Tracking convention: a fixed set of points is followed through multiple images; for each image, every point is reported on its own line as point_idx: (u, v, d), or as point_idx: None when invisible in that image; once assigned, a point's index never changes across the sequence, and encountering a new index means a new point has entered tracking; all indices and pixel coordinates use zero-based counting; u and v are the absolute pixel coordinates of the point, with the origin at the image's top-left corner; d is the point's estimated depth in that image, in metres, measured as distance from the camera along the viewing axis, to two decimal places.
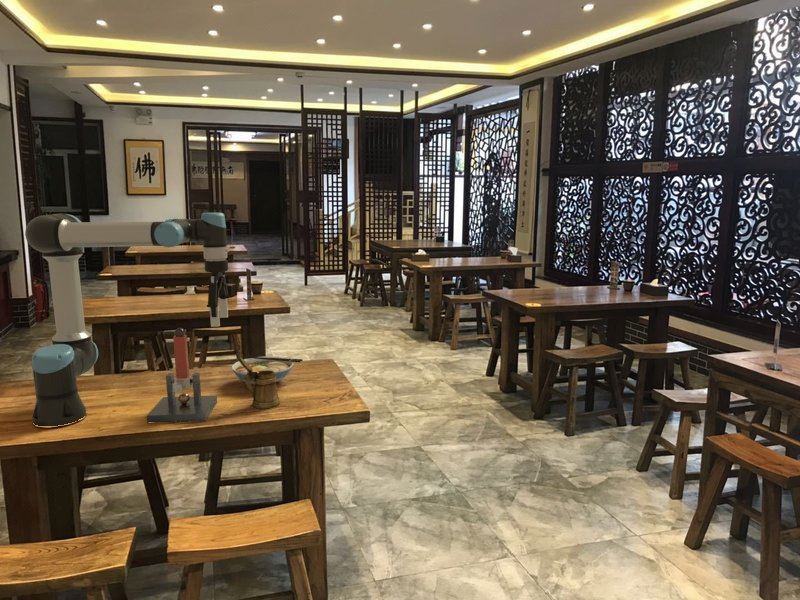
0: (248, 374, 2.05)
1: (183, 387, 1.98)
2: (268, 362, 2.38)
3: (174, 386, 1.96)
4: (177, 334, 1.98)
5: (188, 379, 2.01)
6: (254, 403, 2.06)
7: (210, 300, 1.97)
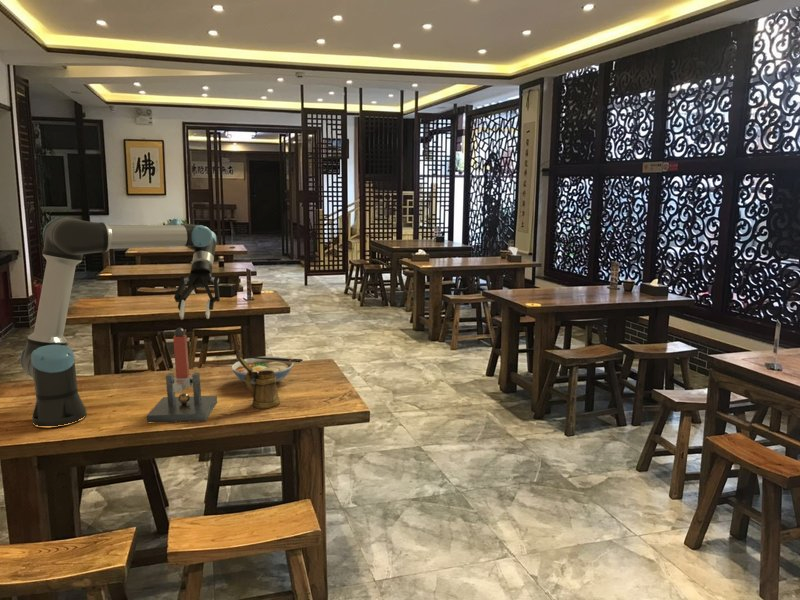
0: (248, 374, 2.05)
1: (183, 387, 1.98)
2: (268, 362, 2.38)
3: (174, 386, 1.96)
4: (177, 334, 1.98)
5: (188, 379, 2.01)
6: (254, 403, 2.06)
7: (218, 294, 2.23)
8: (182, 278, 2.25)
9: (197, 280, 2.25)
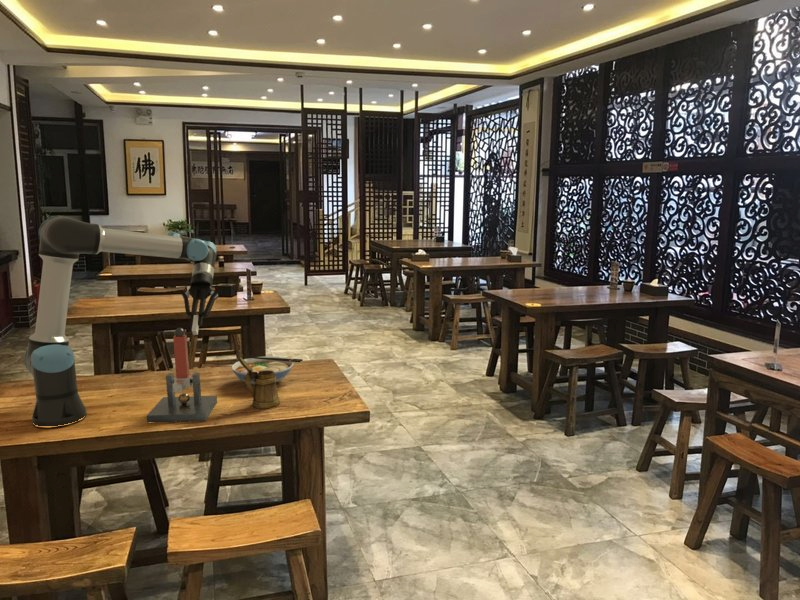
0: (248, 374, 2.05)
1: (183, 387, 1.98)
2: (268, 362, 2.38)
3: (174, 386, 1.96)
4: (177, 334, 1.98)
5: (188, 379, 2.01)
6: (254, 403, 2.06)
7: (208, 310, 2.19)
8: (183, 293, 2.21)
9: (197, 293, 2.22)
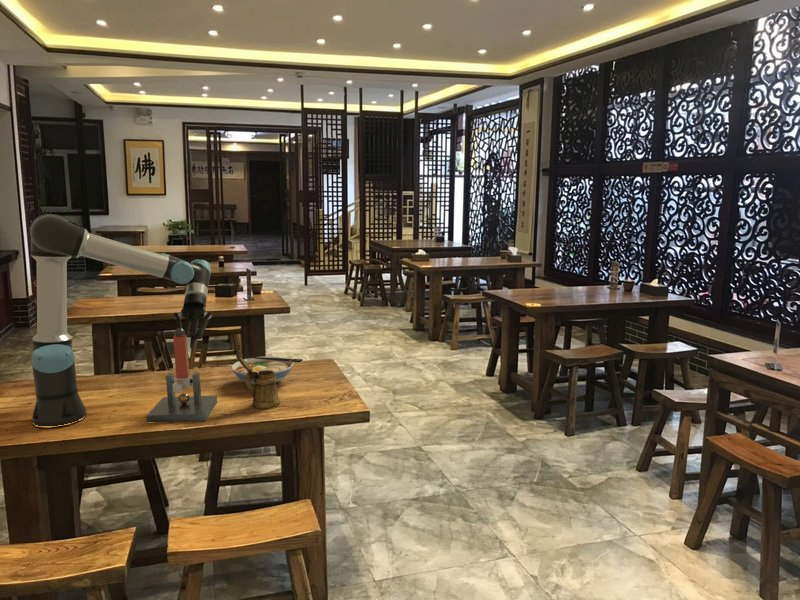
0: (248, 374, 2.05)
1: (183, 387, 1.98)
2: (268, 362, 2.38)
3: (174, 386, 1.96)
4: (177, 334, 1.98)
5: (188, 379, 2.01)
6: (254, 403, 2.06)
7: (201, 332, 2.12)
8: (176, 314, 2.14)
9: (190, 314, 2.15)
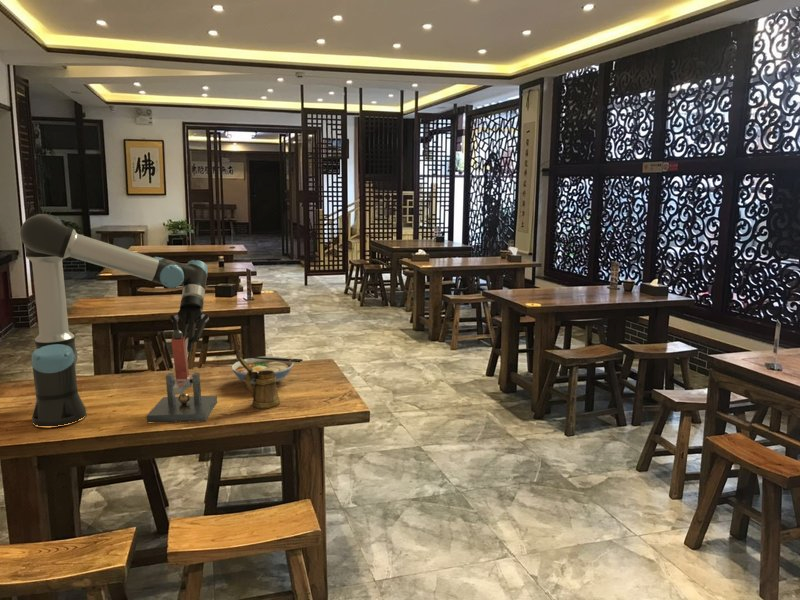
0: (248, 374, 2.05)
1: (183, 389, 1.98)
2: (268, 362, 2.38)
3: (174, 389, 1.96)
4: (175, 337, 1.96)
5: (188, 380, 2.01)
6: (254, 403, 2.06)
7: (198, 335, 2.07)
8: (172, 317, 2.10)
9: (187, 316, 2.10)
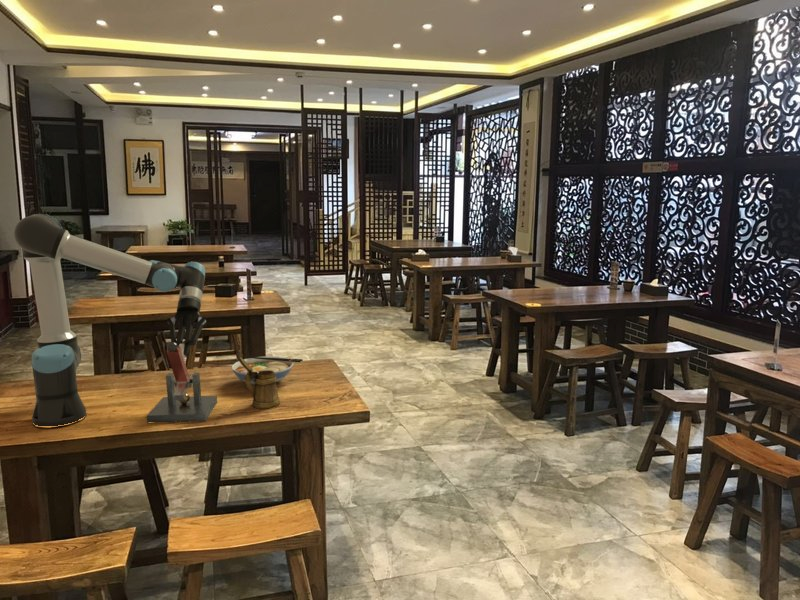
0: (248, 374, 2.05)
1: (184, 394, 1.99)
2: (268, 362, 2.38)
3: (175, 396, 1.97)
4: (170, 350, 1.90)
5: (188, 382, 2.01)
6: (254, 403, 2.06)
7: (195, 338, 2.04)
8: (169, 320, 2.06)
9: (184, 319, 2.07)
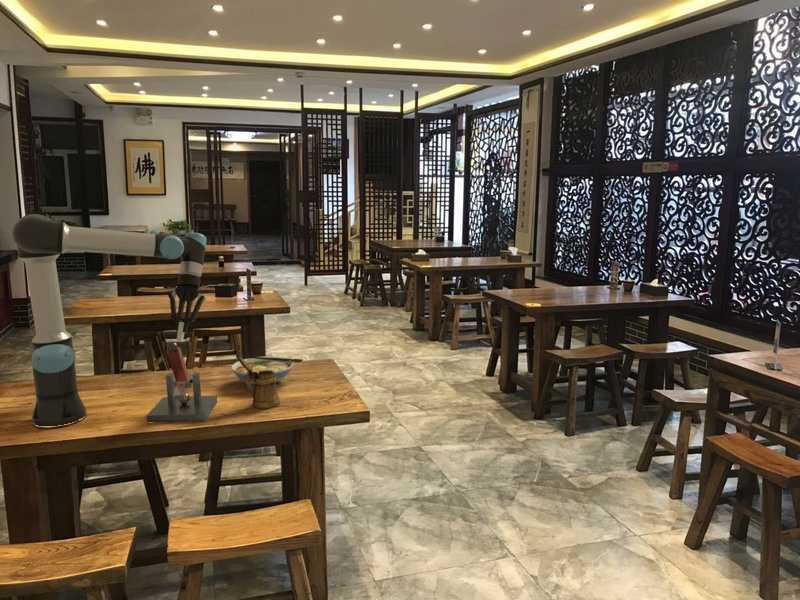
0: (248, 374, 2.05)
1: (184, 394, 1.99)
2: (268, 362, 2.38)
3: (175, 396, 1.97)
4: (170, 350, 1.90)
5: (188, 382, 2.01)
6: (254, 403, 2.06)
7: (194, 317, 2.15)
8: (170, 294, 2.15)
9: (184, 295, 2.15)
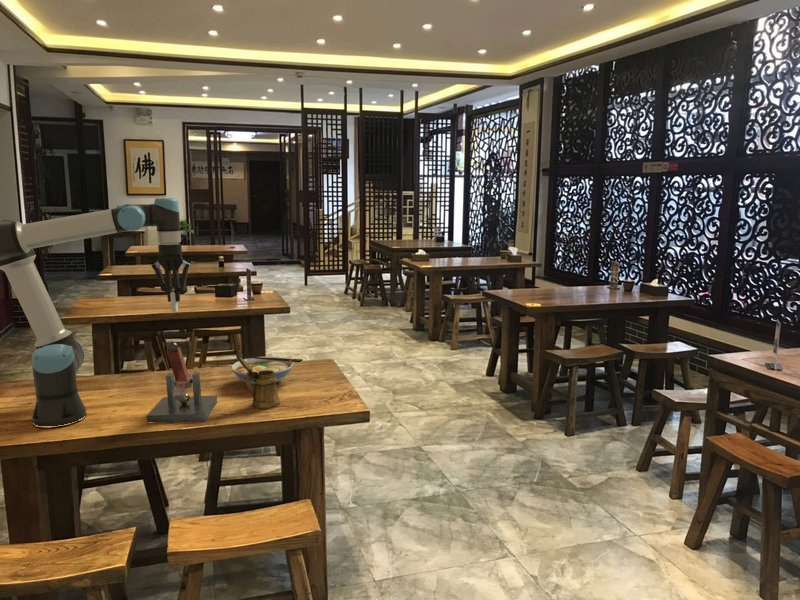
0: (248, 374, 2.05)
1: (184, 394, 1.99)
2: (268, 362, 2.38)
3: (175, 396, 1.97)
4: (170, 350, 1.90)
5: (188, 382, 2.01)
6: (254, 403, 2.06)
7: (184, 285, 2.13)
8: (154, 266, 2.10)
9: (168, 265, 2.11)
